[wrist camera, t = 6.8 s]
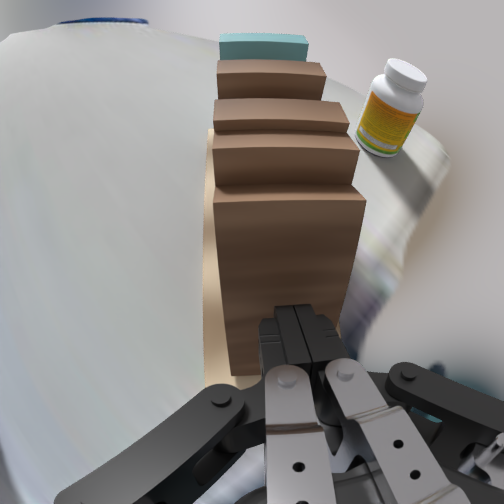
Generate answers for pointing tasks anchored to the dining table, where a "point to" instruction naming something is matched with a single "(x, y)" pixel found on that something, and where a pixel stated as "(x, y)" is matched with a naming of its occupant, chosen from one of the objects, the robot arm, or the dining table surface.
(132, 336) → the dining table surface
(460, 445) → the robot arm
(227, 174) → the domino
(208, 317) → the domino board
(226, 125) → the domino
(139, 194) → the dining table surface
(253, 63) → the domino
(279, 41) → the domino
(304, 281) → the domino
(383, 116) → the supplement bottle
